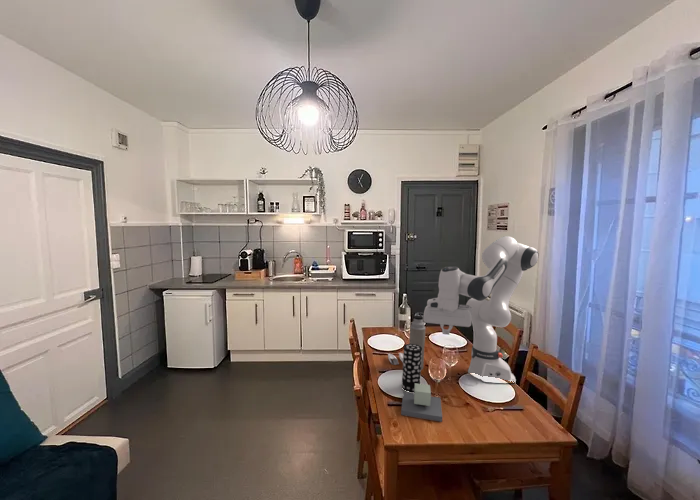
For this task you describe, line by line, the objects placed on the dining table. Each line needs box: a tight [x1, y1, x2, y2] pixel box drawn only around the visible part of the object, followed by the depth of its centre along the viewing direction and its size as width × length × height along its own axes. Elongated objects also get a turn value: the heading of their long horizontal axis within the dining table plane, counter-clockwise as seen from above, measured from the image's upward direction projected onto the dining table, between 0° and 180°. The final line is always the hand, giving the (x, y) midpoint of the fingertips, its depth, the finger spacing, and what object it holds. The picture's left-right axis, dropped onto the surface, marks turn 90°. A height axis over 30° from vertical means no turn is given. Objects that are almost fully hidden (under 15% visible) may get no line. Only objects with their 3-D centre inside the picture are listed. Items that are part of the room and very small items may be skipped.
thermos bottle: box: [408, 315, 426, 371], centre depth 169 cm, size 8×8×28 cm
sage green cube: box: [413, 383, 432, 406], centre depth 132 cm, size 6×6×6 cm
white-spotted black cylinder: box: [401, 343, 422, 393], centre depth 147 cm, size 8×8×20 cm
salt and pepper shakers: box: [387, 352, 404, 366], centre depth 177 cm, size 12×4×11 cm
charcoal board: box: [400, 391, 443, 423], centre depth 132 cm, size 16×14×2 cm
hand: (445, 333), depth 139 cm, fingers closed
